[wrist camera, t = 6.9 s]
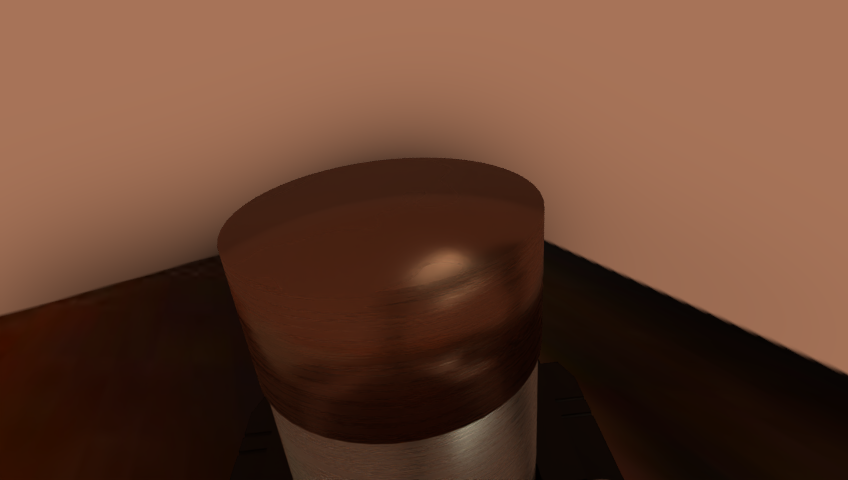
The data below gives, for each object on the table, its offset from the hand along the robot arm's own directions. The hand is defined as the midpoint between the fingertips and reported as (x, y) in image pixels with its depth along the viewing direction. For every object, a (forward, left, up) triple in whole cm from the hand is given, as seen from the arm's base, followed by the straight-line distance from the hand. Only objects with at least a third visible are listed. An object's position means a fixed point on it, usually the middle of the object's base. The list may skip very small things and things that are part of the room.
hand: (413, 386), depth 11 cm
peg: (+1, +3, -8) cm, 9 cm away
